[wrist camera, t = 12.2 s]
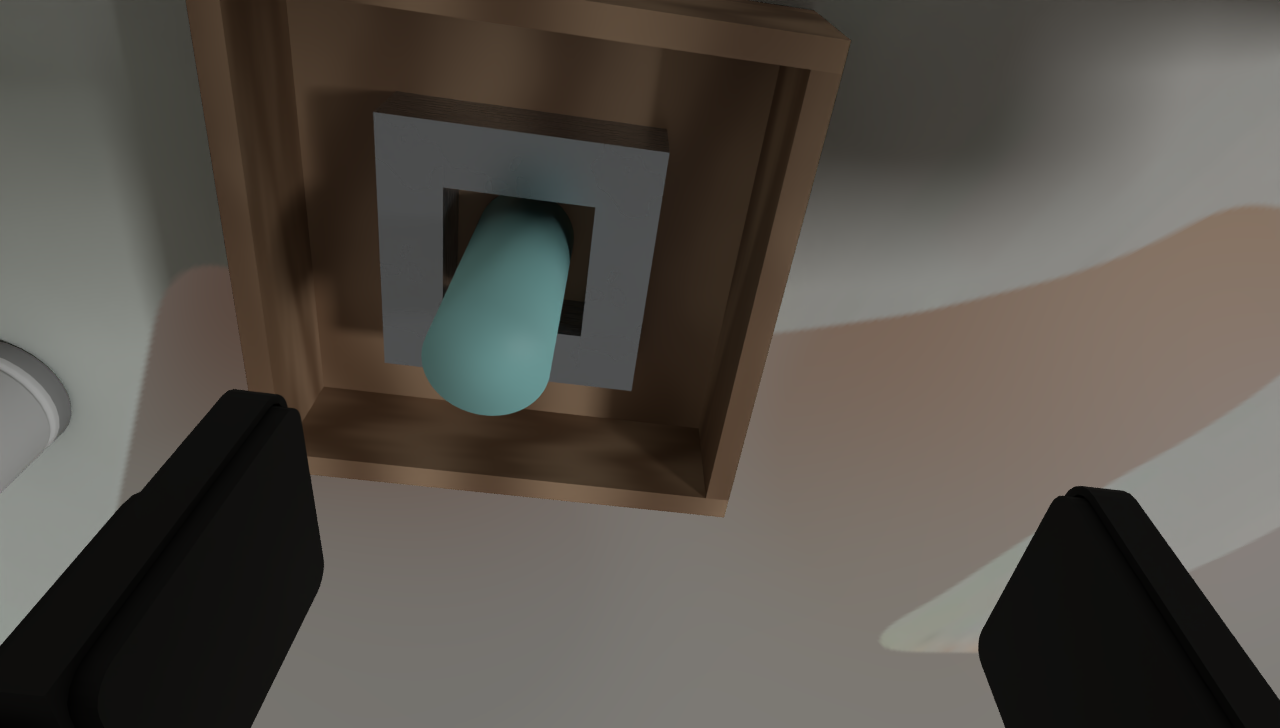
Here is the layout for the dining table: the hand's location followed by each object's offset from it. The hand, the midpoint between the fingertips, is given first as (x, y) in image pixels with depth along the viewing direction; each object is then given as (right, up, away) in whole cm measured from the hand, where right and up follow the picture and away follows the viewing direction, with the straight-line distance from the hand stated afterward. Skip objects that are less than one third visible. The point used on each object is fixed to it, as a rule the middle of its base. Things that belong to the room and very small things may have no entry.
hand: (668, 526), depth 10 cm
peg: (-5, +7, +23) cm, 24 cm away
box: (-5, +8, +24) cm, 25 cm away
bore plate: (-5, +8, +24) cm, 25 cm away
